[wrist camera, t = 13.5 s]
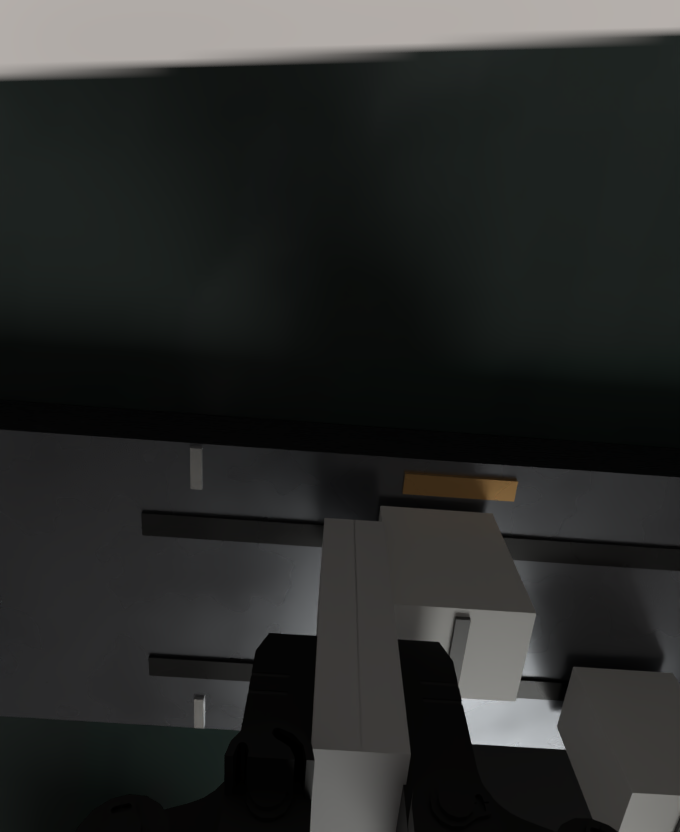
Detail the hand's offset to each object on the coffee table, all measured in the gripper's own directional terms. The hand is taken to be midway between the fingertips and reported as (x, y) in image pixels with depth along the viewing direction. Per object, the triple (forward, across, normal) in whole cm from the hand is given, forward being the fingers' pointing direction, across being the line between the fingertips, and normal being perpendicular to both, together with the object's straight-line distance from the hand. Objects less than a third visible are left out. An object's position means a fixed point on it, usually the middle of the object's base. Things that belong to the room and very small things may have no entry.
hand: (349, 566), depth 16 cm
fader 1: (+1, +2, 0) cm, 3 cm away
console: (+4, +3, -3) cm, 5 cm away
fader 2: (+1, +9, -5) cm, 10 cm away
